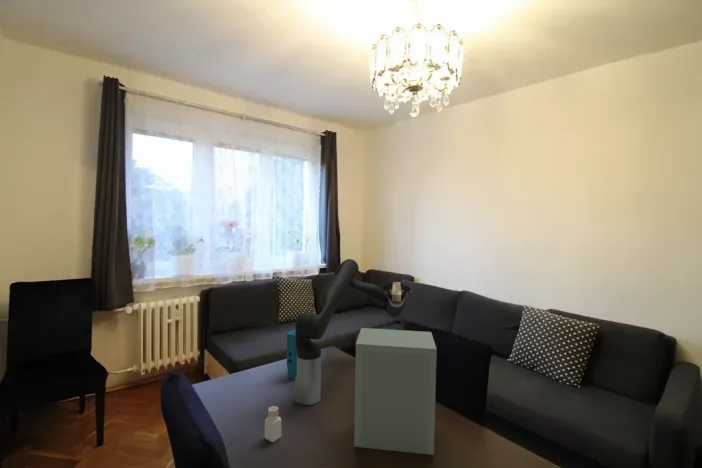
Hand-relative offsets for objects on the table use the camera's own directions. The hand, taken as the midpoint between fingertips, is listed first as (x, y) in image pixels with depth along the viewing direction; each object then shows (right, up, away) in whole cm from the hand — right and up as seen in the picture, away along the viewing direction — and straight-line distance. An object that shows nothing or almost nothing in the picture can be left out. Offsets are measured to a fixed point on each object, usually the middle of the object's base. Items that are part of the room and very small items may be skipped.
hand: (396, 284), depth 143 cm
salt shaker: (-44, -44, -34) cm, 71 cm away
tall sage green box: (-5, -44, -32) cm, 55 cm away
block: (-43, -42, +11) cm, 61 cm away
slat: (-1, -3, -6) cm, 7 cm away
